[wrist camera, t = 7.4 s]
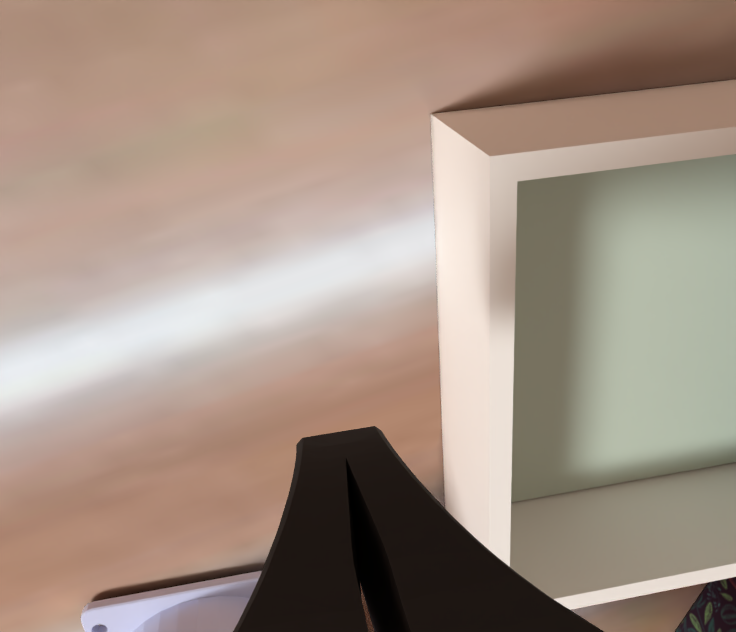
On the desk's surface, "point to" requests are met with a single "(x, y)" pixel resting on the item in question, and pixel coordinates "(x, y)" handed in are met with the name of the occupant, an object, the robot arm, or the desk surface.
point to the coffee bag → (713, 609)
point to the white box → (591, 336)
